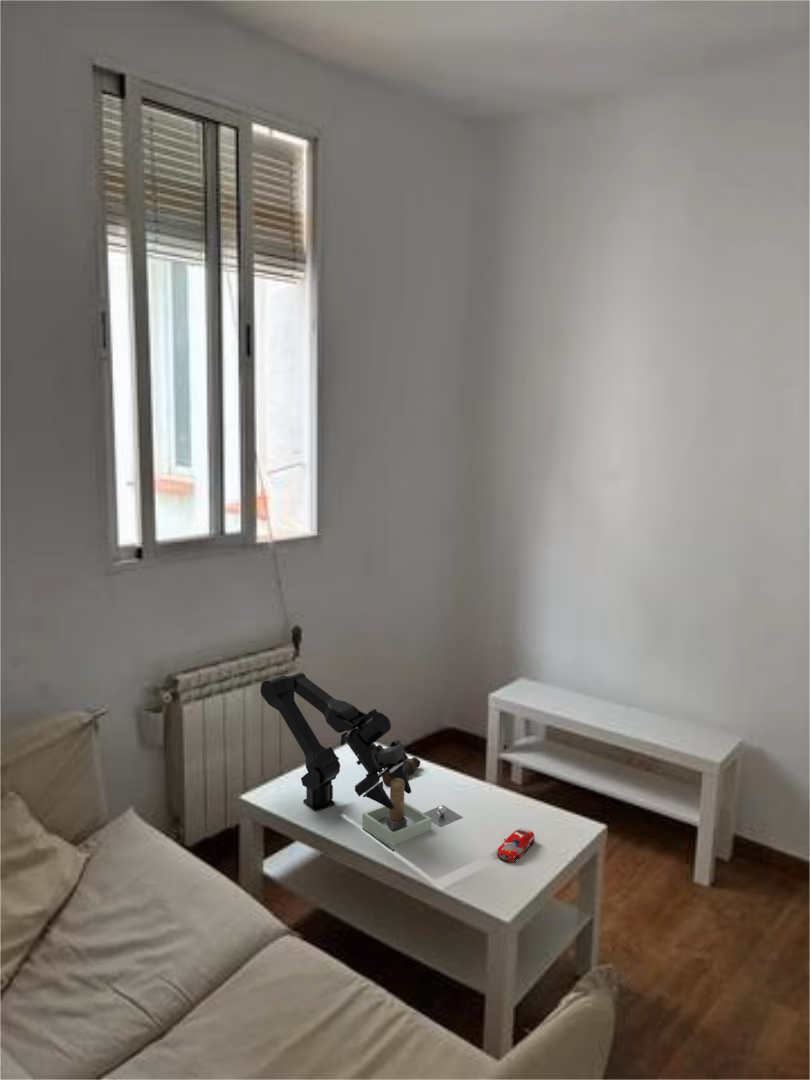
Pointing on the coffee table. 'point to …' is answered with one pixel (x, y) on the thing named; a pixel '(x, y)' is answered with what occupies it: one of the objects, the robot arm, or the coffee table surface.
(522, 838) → the race car
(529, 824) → the coffee table surface
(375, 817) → the bin
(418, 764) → the bolt
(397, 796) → the brown peg with base
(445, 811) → the square lid with knob
